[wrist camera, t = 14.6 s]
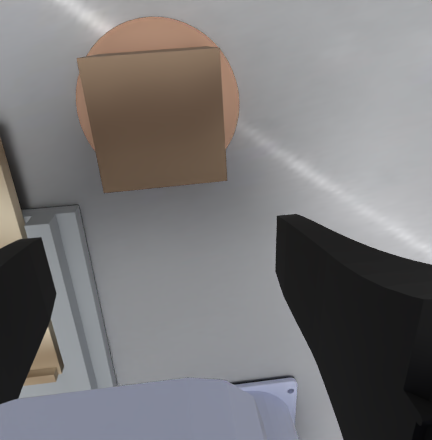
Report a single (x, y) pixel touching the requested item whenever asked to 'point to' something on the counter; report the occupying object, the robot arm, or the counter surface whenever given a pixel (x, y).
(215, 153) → the walnut block
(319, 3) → the counter surface
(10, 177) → the multicoloured piece
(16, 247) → the robot arm
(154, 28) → the coaster
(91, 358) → the lane board
